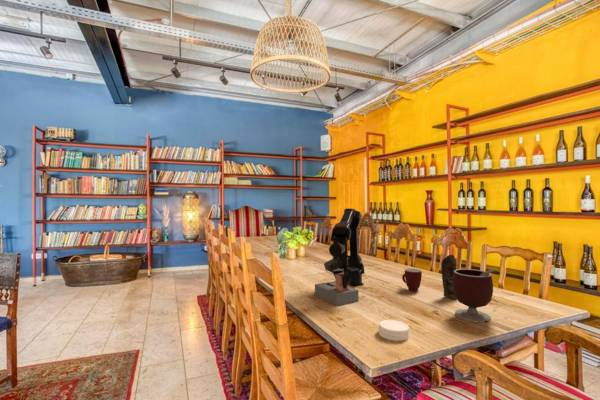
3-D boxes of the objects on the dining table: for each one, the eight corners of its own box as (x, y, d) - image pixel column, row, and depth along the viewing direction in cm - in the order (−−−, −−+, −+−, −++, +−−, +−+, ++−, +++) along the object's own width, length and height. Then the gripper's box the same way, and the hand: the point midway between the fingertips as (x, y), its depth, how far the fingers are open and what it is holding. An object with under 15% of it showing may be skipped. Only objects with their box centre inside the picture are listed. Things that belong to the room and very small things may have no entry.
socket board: (335, 291, 156) (335, 281, 156) (358, 301, 140) (358, 290, 140) (314, 294, 150) (314, 284, 150) (336, 305, 134) (336, 294, 134)
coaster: (379, 327, 111) (379, 317, 111) (408, 330, 108) (408, 320, 108) (378, 339, 102) (377, 328, 102) (410, 343, 99) (410, 332, 99)
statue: (454, 300, 140) (453, 256, 141) (440, 296, 147) (440, 253, 147) (463, 298, 144) (463, 254, 144) (450, 294, 150) (449, 252, 150)
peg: (342, 292, 144) (342, 272, 144) (347, 294, 140) (347, 274, 140) (335, 293, 142) (335, 273, 142) (340, 295, 138) (340, 275, 138)
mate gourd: (445, 313, 124) (444, 263, 124) (466, 307, 131) (465, 260, 131) (484, 327, 110) (483, 271, 110) (505, 320, 117) (505, 267, 117)
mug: (397, 288, 159) (397, 269, 159) (406, 286, 164) (406, 267, 164) (416, 293, 151) (416, 273, 151) (424, 290, 156) (424, 270, 156)
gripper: (315, 251, 145) (315, 284, 145) (339, 258, 129) (339, 295, 129) (335, 249, 151) (335, 281, 151) (360, 255, 134) (360, 291, 134)
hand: (341, 287), depth 141 cm, fingers closed on peg, 4 cm apart
